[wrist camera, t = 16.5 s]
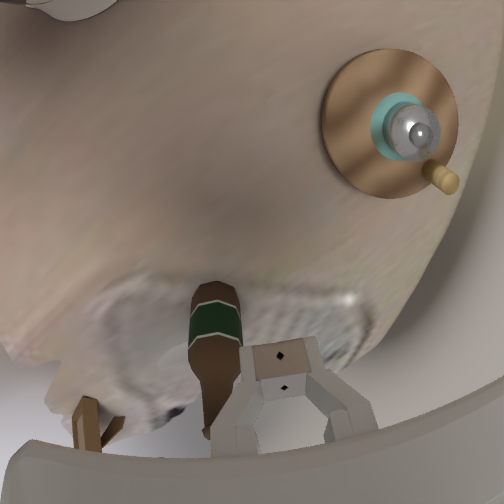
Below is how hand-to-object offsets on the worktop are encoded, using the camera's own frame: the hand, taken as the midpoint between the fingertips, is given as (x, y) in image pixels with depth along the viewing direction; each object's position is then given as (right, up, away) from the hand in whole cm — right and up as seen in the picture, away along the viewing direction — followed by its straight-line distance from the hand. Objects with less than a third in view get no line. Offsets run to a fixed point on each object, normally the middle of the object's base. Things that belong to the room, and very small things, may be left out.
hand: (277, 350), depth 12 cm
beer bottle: (-7, -3, +38) cm, 39 cm away
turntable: (+17, +20, +21) cm, 34 cm away
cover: (+18, +19, +20) cm, 33 cm away
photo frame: (-49, -46, +64) cm, 92 cm away
